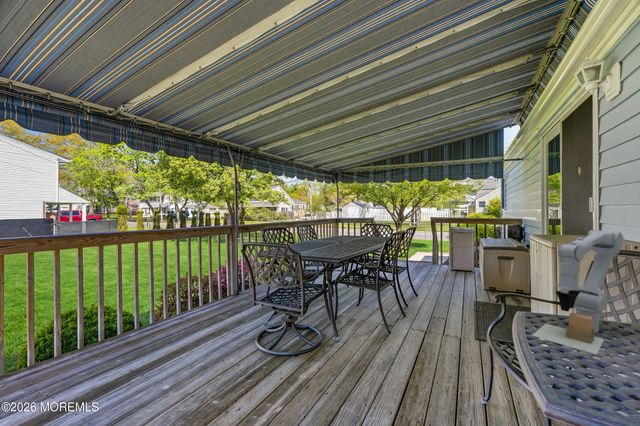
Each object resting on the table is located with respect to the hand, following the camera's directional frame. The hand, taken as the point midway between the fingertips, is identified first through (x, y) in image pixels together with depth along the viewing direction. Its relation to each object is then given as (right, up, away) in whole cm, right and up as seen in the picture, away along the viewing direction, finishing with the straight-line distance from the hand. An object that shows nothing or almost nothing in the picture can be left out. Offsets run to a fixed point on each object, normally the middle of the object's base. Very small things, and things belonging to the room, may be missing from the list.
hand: (567, 309), depth 113 cm
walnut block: (+2, -10, -4) cm, 11 cm away
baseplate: (-3, -10, -3) cm, 11 cm away
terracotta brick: (+2, -6, -4) cm, 7 cm away
